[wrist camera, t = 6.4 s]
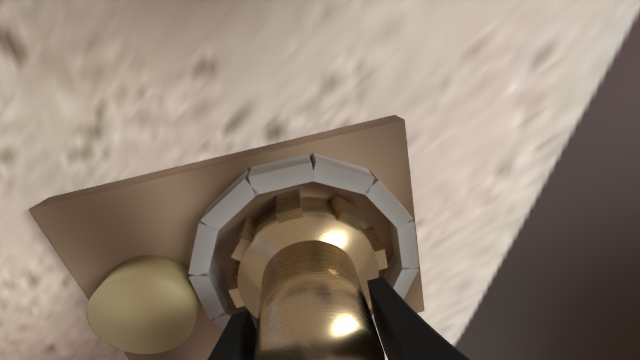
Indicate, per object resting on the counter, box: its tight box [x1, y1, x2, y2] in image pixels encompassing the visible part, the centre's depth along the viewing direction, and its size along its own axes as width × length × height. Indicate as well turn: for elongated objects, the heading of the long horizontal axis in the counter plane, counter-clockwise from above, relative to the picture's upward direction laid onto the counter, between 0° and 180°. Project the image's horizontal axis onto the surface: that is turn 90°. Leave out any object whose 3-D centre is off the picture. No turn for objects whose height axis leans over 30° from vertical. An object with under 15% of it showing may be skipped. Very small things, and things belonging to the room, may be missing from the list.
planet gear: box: [229, 189, 388, 360], centre depth 12 cm, size 7×7×6 cm
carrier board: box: [29, 115, 424, 360], centre depth 14 cm, size 16×11×3 cm
